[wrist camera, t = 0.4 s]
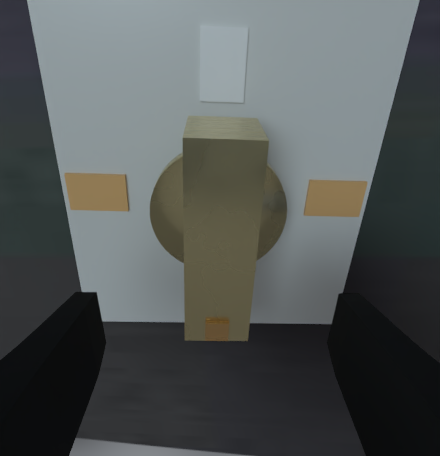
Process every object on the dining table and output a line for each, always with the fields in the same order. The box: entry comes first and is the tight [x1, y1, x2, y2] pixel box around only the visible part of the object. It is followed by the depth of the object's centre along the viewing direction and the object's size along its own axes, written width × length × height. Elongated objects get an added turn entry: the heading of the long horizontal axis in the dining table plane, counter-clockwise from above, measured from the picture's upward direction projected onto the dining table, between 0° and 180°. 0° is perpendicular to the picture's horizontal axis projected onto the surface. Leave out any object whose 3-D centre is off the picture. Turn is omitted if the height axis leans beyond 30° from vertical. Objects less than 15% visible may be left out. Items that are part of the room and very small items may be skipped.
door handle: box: [150, 116, 287, 341], centre depth 15 cm, size 6×9×4 cm
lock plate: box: [27, 0, 419, 324], centre depth 19 cm, size 16×18×2 cm
